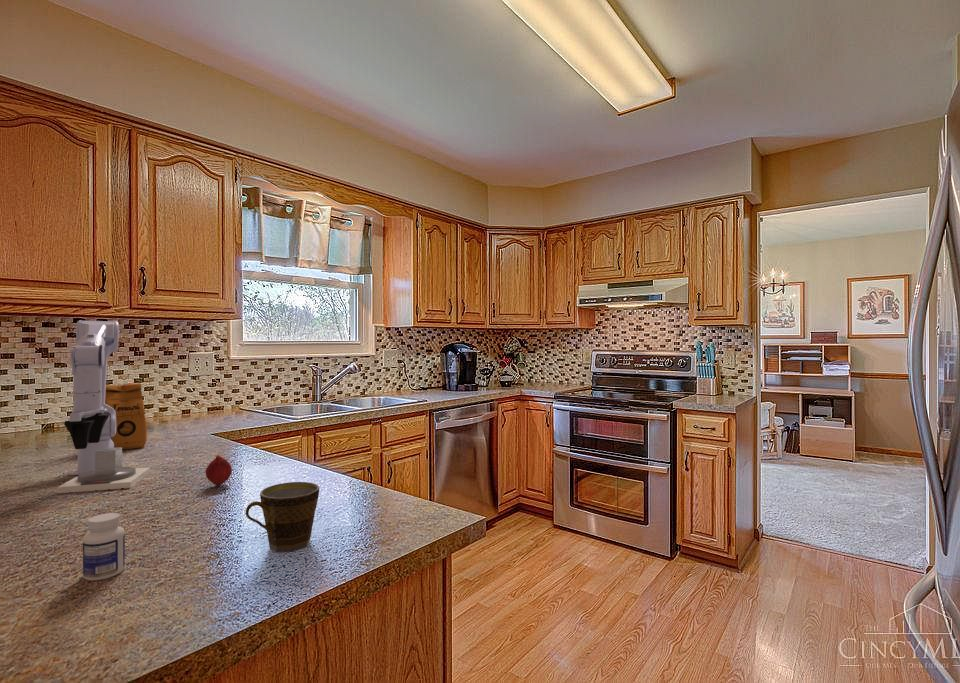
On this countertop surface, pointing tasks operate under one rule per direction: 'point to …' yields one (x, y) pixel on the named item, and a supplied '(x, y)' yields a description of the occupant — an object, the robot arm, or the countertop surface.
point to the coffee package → (127, 415)
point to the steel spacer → (108, 461)
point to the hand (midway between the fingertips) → (87, 445)
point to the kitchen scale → (104, 480)
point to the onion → (218, 470)
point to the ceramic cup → (288, 514)
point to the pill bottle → (103, 547)
